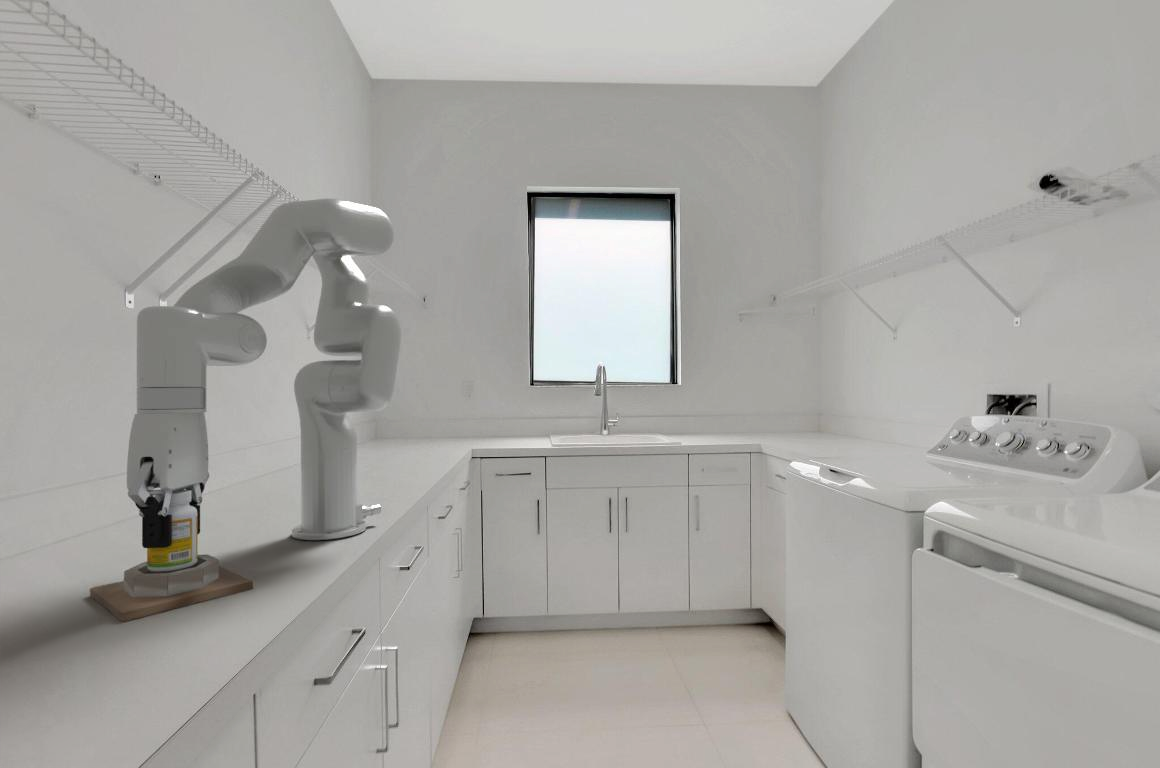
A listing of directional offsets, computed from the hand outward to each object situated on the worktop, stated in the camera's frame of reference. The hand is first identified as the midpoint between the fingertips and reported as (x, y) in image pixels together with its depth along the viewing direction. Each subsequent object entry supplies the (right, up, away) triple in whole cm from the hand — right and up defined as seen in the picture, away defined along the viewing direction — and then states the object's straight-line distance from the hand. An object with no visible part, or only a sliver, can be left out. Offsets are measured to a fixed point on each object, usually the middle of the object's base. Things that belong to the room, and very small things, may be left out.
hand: (172, 539), depth 76 cm
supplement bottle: (0, -4, 0) cm, 4 cm away
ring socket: (0, -7, 0) cm, 7 cm away
